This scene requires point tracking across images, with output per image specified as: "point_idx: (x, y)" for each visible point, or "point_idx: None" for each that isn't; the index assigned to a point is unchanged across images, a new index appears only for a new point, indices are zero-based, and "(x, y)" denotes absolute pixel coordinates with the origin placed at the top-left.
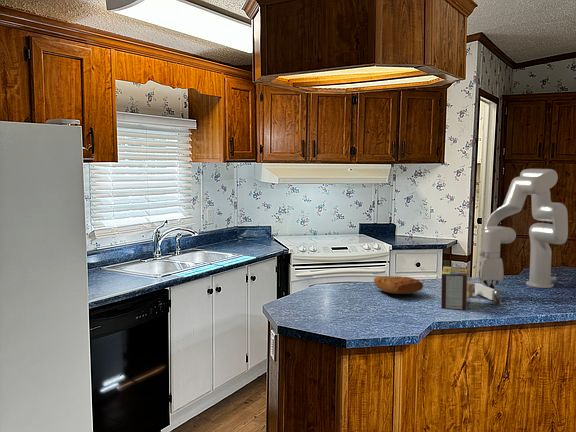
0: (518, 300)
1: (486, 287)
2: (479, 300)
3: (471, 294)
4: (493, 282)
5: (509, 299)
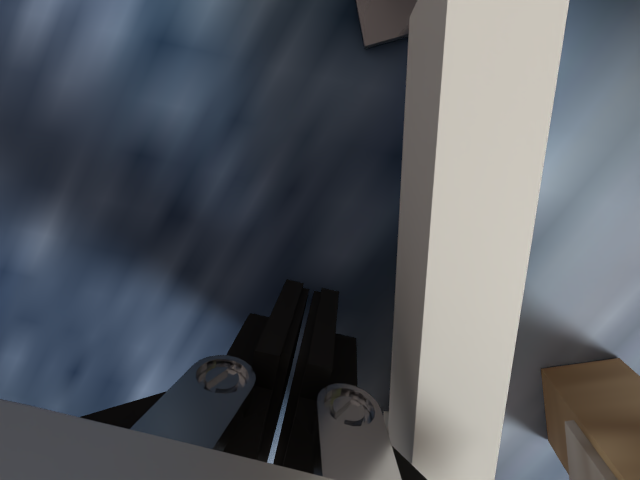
0: (8, 57)
1: (502, 293)
2: (578, 184)
3: (582, 390)
4: (214, 435)
5: (111, 138)
